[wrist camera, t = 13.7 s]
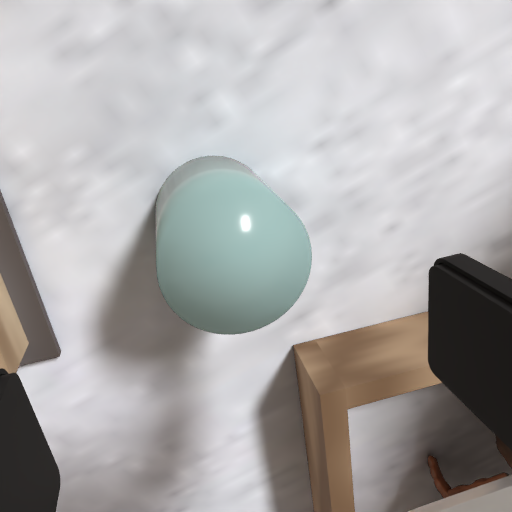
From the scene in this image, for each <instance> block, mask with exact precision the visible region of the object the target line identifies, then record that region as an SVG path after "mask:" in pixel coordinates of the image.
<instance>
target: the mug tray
mask: <svg viewBox="0 0 512 512" xmlns="http://www.w3.org/2000/svg"><path fill="white" fill-rule="evenodd" d="M293 348H294V356H295V364H296V372H297V379H298V387H299V395H300V403H301V411H302V419H303V427H304V435H305V443H306V451H307V459H308V467H309V475H310V483H311V491H312V499H313V507H314V512H355V509H354V495H353V481H352V468H351V454H350V440H349V426H348V413H347V409H350V408H354V407H357V406H361V405H364V404H368V403H372V402H375V401H379V400H382V399H386V398H390V397H393V396H397V395H400V394H404V393H408V392H411V391H415V390H418V389H422V388H425V387H429V386H433V385H436V384H440V383H442V382H441V381H440V380H439V379H438V378H437V377H436V376H435V375H434V374H433V372H432V371H431V369H430V367H429V363H428V311H427V312H423V313H420V314H416V315H412V316H408V317H404V318H400V319H396V320H392V321H388V322H384V323H380V324H376V325H372V326H368V327H364V328H360V329H356V330H352V331H348V332H344V333H340V334H336V335H332V336H328V337H324V338H320V339H316V340H312V341H308V342H304V343H300V344H296V345H293Z"/></svg>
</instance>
